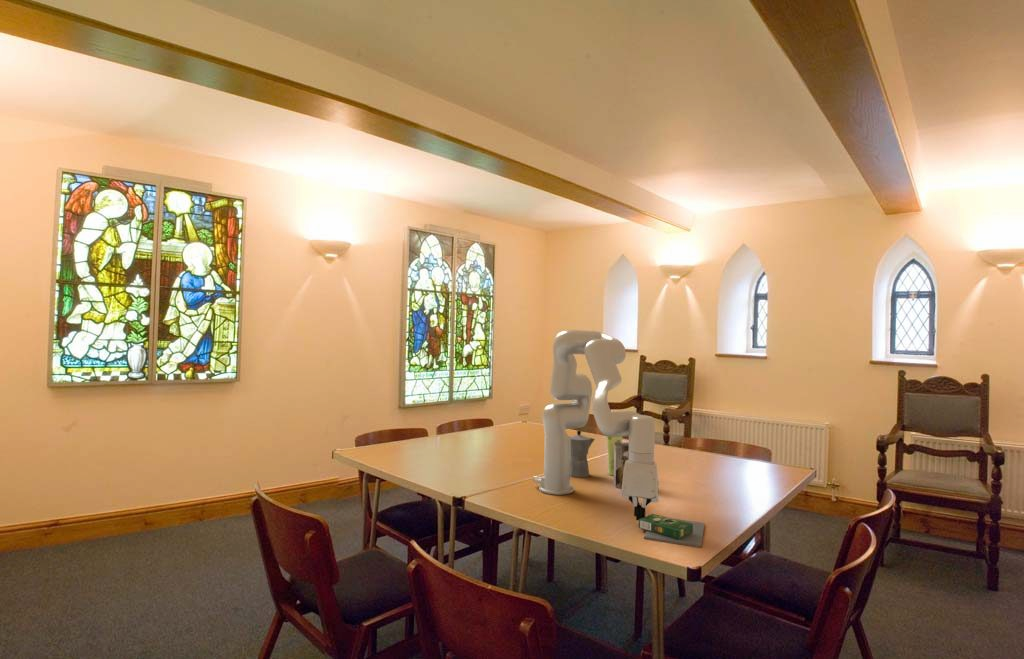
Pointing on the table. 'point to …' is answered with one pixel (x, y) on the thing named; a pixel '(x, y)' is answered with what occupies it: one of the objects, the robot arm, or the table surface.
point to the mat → (689, 540)
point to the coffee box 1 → (619, 462)
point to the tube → (611, 452)
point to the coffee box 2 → (666, 526)
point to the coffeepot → (579, 455)
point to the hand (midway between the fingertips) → (639, 519)
